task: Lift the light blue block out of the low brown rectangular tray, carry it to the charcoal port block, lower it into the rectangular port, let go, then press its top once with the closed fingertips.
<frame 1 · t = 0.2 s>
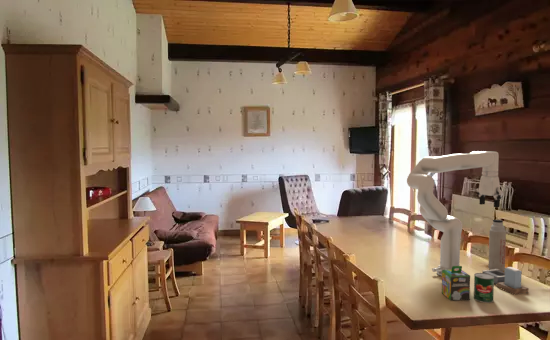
hand: (489, 205, 215), 36 cm above the table, tool pointing down, fingers open, 9 cm apart
port: (497, 281, 202), on the table
canned tomato: (483, 299, 178), on the table
light blue block: (512, 290, 189), resting in brown rectangular tray
chalk box: (455, 297, 181), on the table
brown rectangular tray: (512, 289, 189), on the table
thermos bottle: (496, 270, 219), on the table
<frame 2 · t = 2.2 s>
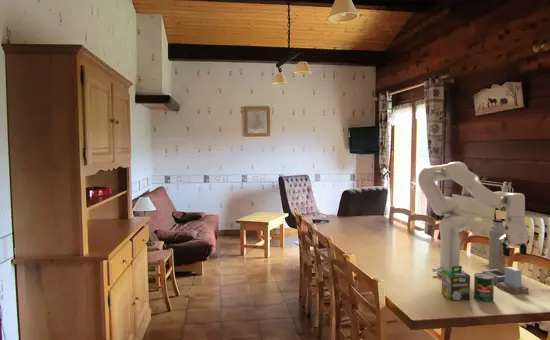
hand: (514, 254, 188), 17 cm above the table, tool pointing down, fingers open, 9 cm apart
nothing on the table moved.
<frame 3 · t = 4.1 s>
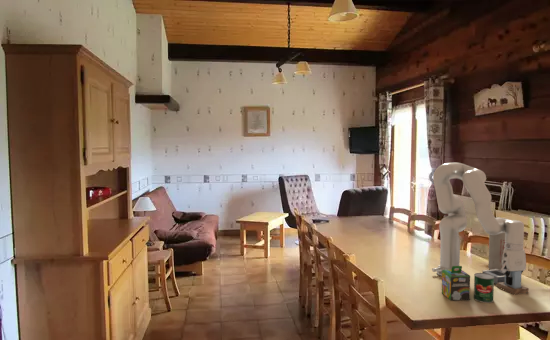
hand: (512, 283, 189), 3 cm above the table, tool pointing down, fingers closed on light blue block, 3 cm apart
light blue block: (512, 290, 189), resting in brown rectangular tray, touching gripper
everything else where it was.
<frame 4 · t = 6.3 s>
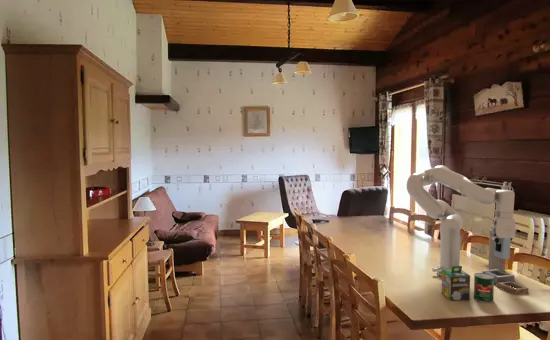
hand: (501, 250, 197), 17 cm above the table, tool pointing down, fingers closed on light blue block, 3 cm apart
light blue block: (501, 256, 197), point 14 cm above the table, touching gripper
everything else where it was.
when the fingers open (5 cm above the table, at t = 8.7 s): light blue block drops 2 cm, resting in port.
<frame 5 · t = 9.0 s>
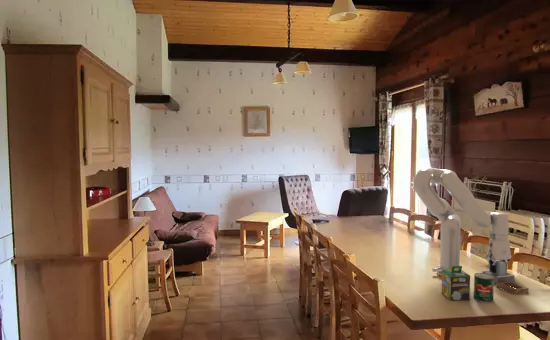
hand: (498, 271, 201), 5 cm above the table, tool pointing down, fingers open, 6 cm apart
light blue block: (497, 281, 202), resting in port
everything else where it was.
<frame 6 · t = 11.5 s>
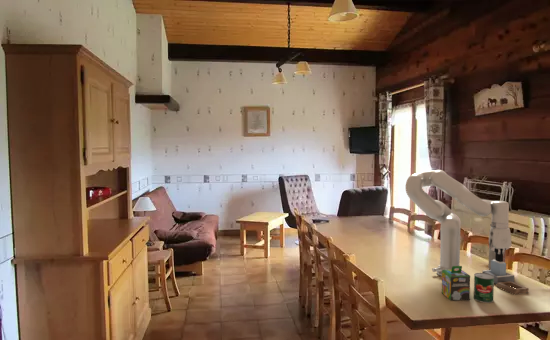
hand: (499, 261, 201), 10 cm above the table, tool pointing down, fingers closed
light blue block: (497, 281, 202), resting in port, touching gripper
everything else where it was.
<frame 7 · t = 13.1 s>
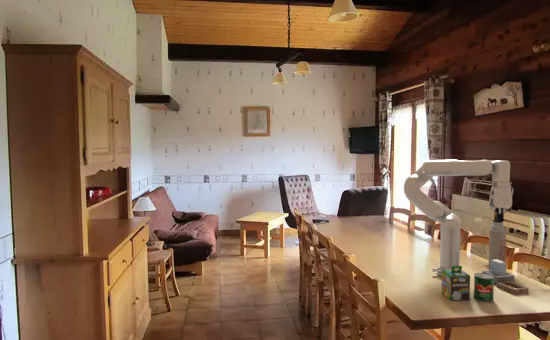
hand: (499, 220, 200), 31 cm above the table, tool pointing down, fingers closed
light blue block: (497, 281, 202), resting in port
everything else where it was.
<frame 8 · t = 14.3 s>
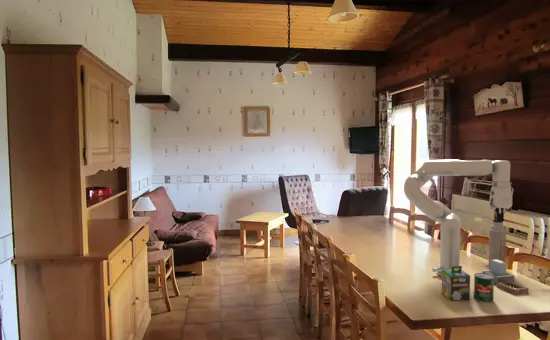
hand: (499, 220, 200), 31 cm above the table, tool pointing down, fingers closed
nothing on the table moved.
at the end: light blue block 0.1 cm off-centre on the port, point 0.0 cm above the port's base; light blue block tilted 0°; the gripper is holding nothing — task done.
